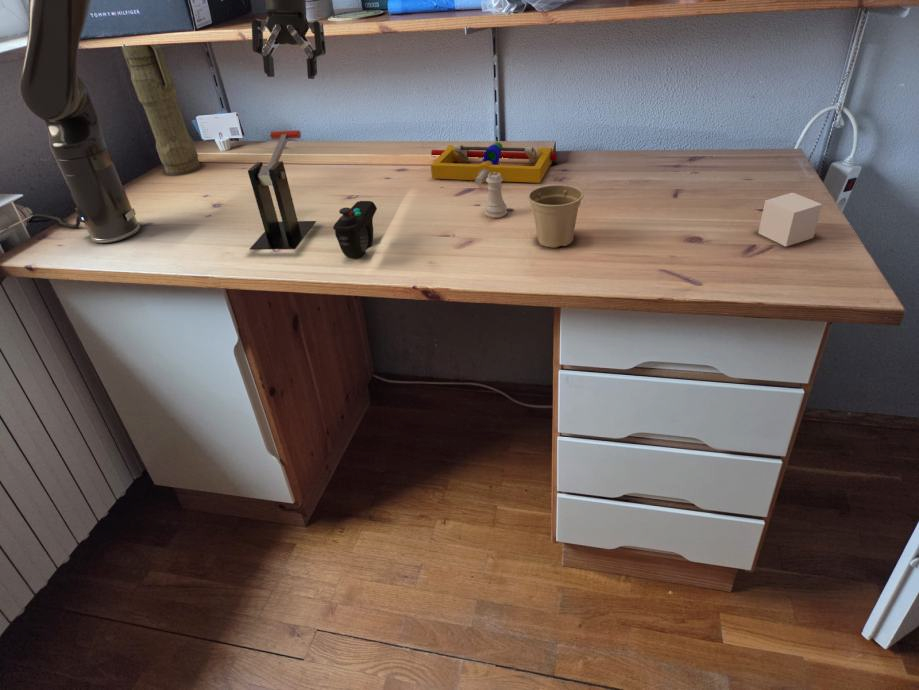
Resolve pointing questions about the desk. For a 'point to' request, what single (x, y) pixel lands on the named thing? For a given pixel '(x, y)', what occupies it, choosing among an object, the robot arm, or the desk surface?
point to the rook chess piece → (495, 197)
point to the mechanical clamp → (491, 163)
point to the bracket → (276, 232)
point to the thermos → (161, 107)
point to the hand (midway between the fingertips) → (291, 77)
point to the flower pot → (555, 213)
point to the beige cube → (789, 219)
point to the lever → (276, 153)
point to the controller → (355, 229)
